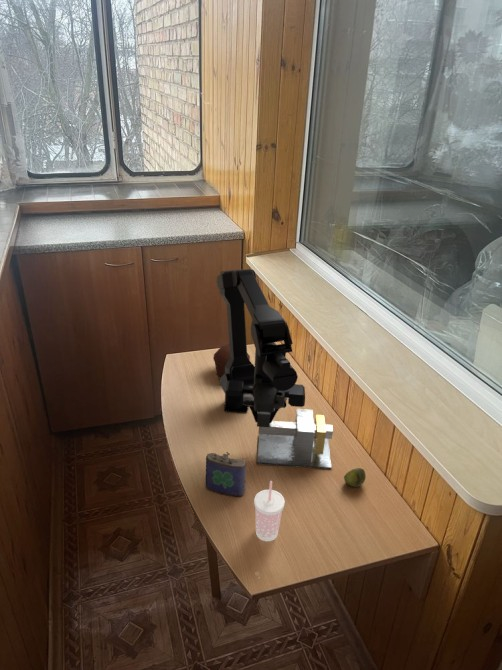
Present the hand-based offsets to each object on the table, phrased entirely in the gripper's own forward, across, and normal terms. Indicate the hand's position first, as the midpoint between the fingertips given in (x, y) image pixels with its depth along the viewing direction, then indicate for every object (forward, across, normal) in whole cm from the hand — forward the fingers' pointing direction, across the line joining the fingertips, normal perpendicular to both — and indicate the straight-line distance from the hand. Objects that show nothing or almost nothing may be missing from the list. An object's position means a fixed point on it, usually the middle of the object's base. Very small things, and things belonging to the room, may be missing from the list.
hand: (263, 421), depth 125 cm
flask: (+9, -8, -15) cm, 19 cm away
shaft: (+3, +8, 0) cm, 8 cm away
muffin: (+9, -11, +34) cm, 37 cm away
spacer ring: (+3, +14, 0) cm, 14 cm away
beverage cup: (+9, +2, -26) cm, 28 cm away
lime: (+9, +22, -10) cm, 26 cm away
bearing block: (+9, +8, 0) cm, 12 cm away
